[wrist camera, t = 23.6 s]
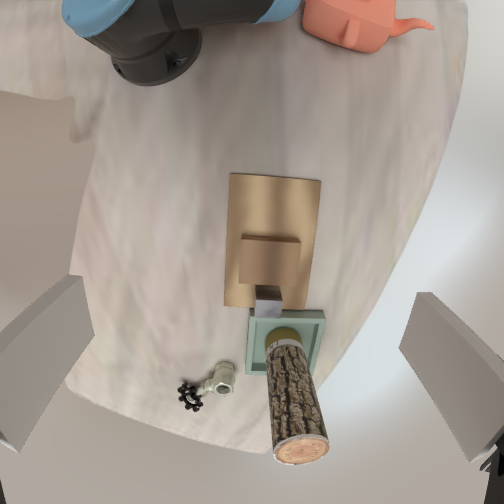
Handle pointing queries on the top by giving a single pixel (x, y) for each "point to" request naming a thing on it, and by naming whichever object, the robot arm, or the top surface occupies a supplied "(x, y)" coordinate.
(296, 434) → the log cylinder
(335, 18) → the teapot
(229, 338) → the top surface
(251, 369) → the tray
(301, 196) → the board
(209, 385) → the valve
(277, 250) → the walnut plate
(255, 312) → the block
